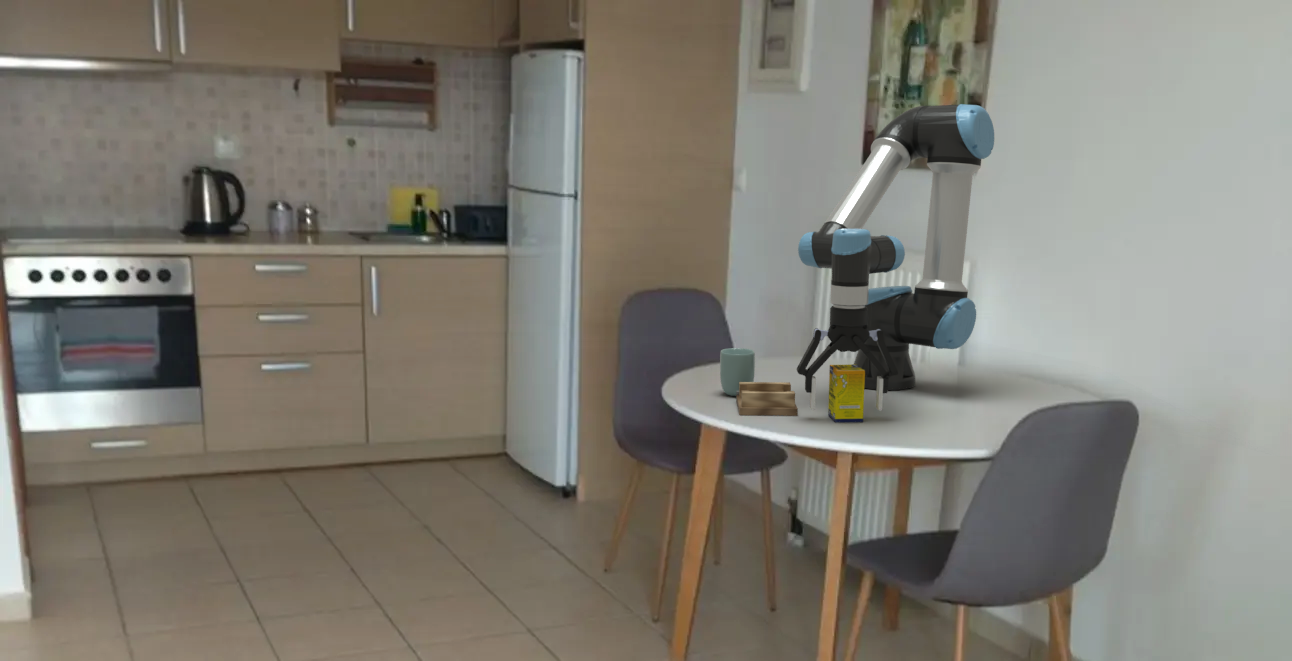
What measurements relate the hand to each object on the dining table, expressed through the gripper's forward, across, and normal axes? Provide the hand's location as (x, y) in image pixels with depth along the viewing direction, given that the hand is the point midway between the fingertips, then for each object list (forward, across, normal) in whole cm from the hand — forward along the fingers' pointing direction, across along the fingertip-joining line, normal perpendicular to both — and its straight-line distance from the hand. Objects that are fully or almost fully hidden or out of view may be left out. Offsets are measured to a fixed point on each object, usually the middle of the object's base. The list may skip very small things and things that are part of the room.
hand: (845, 408), depth 223 cm
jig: (+2, +16, -9) cm, 18 cm away
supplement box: (+2, 0, 0) cm, 2 cm away
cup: (+2, +21, -22) cm, 31 cm away
